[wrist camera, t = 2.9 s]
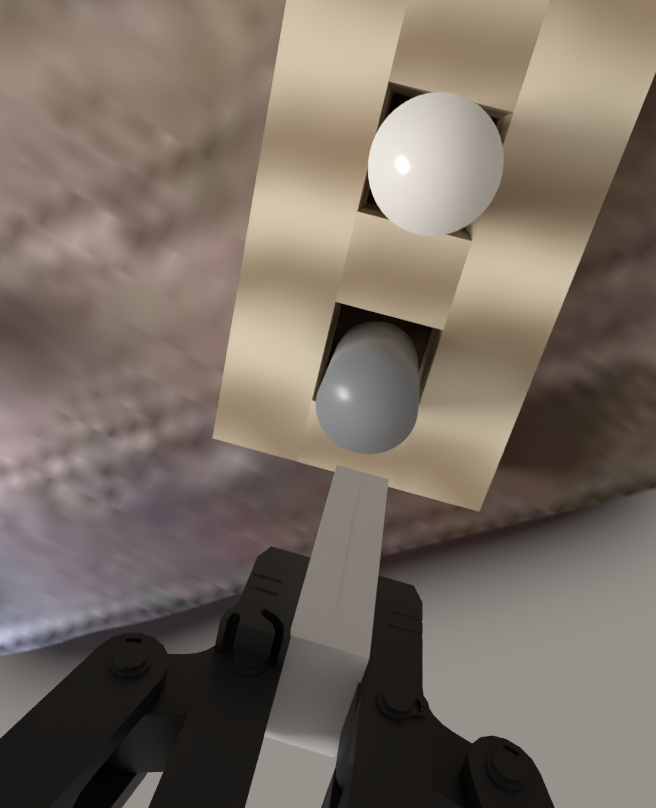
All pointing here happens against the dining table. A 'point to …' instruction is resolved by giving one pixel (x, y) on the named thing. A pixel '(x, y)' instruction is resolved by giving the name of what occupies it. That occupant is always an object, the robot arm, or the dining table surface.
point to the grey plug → (370, 389)
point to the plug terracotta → (435, 164)
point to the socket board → (417, 254)
